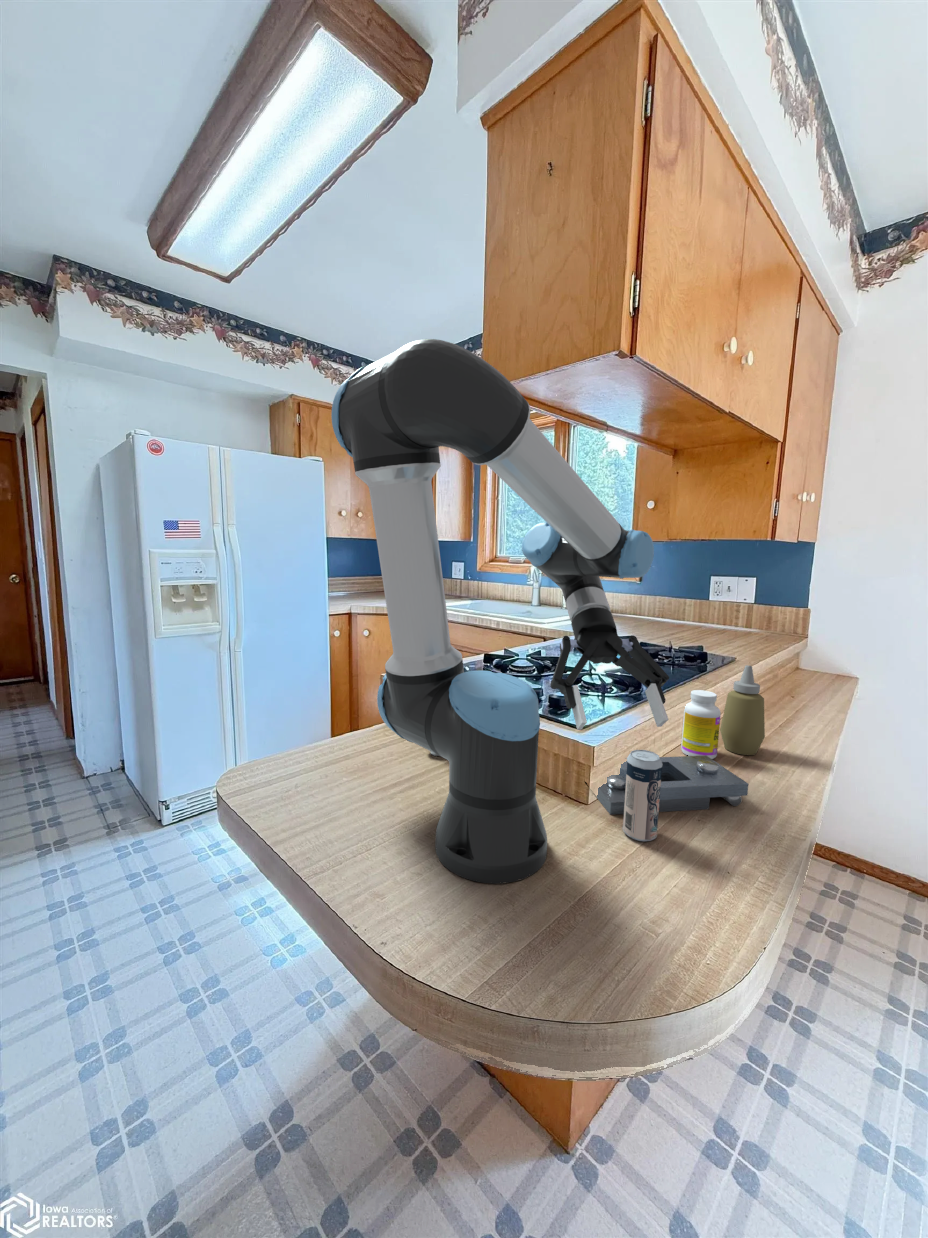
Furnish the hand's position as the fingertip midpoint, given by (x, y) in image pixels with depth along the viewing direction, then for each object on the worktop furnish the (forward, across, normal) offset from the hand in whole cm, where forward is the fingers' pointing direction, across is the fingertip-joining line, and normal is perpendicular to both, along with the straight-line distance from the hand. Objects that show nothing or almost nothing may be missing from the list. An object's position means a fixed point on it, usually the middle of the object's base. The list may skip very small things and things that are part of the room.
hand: (622, 724), depth 77 cm
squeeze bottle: (-3, -35, -22) cm, 42 cm away
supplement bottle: (-2, -25, -21) cm, 33 cm away
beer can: (+16, +1, -3) cm, 16 cm away
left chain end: (+8, -5, -11) cm, 14 cm away
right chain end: (+8, -11, -11) cm, 18 cm away
